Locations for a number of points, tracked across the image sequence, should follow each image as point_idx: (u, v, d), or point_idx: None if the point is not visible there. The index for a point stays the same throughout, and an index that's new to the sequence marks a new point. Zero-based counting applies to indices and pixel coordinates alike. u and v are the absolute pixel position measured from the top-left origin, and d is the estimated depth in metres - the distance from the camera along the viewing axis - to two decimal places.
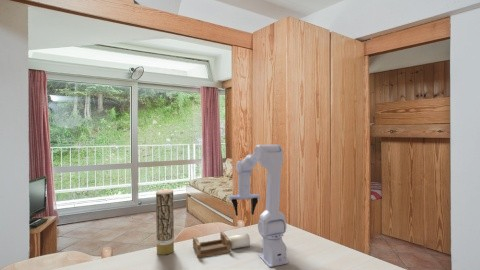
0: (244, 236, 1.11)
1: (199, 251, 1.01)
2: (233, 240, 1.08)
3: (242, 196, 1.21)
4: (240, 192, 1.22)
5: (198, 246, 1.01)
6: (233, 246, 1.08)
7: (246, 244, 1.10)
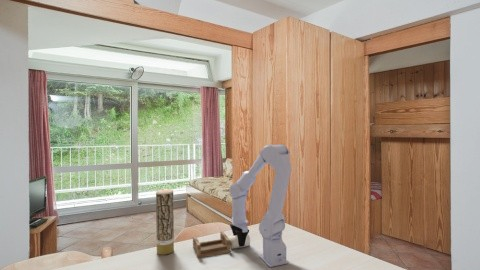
0: None
1: (199, 251, 1.01)
2: (233, 240, 1.08)
3: (232, 221, 1.11)
4: None
5: (198, 246, 1.01)
6: (233, 246, 1.08)
7: (246, 244, 1.10)
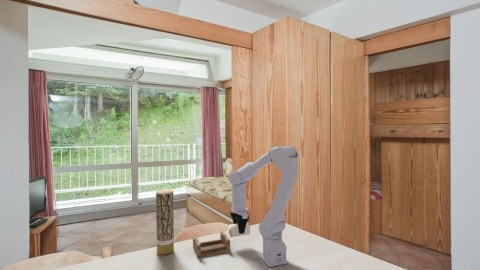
0: None
1: (199, 251, 1.01)
2: (233, 228, 1.08)
3: (232, 209, 1.11)
4: None
5: (198, 246, 1.01)
6: (233, 234, 1.08)
7: (246, 232, 1.10)
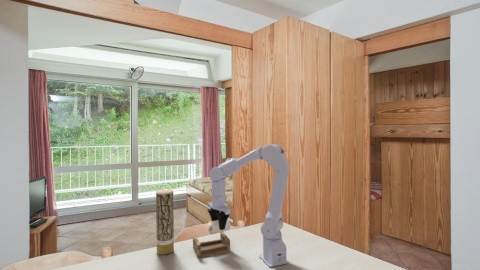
0: None
1: (199, 251, 1.01)
2: (214, 225, 1.06)
3: (211, 205, 1.09)
4: None
5: (198, 246, 1.01)
6: (214, 231, 1.05)
7: (226, 228, 1.09)
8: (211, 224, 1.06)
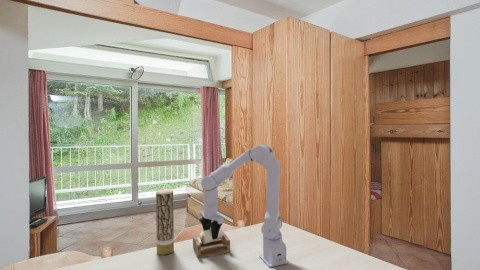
0: None
1: (199, 251, 1.01)
2: (207, 235, 1.05)
3: (203, 215, 1.08)
4: None
5: (198, 246, 1.01)
6: (207, 241, 1.04)
7: (219, 238, 1.08)
8: (203, 234, 1.05)
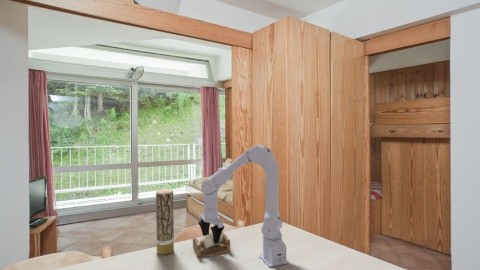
0: None
1: (199, 251, 1.01)
2: (207, 240, 1.05)
3: (203, 218, 1.08)
4: None
5: (198, 246, 1.01)
6: (207, 246, 1.04)
7: (219, 242, 1.08)
8: (204, 239, 1.05)
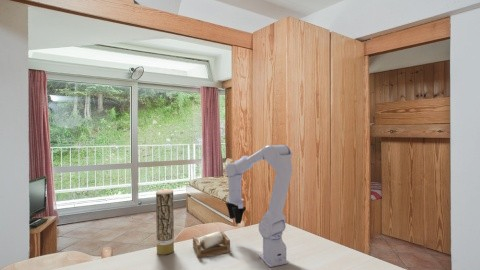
0: (217, 235, 1.08)
1: (199, 251, 1.01)
2: (207, 240, 1.05)
3: (228, 199, 1.15)
4: None
5: (198, 246, 1.01)
6: (207, 246, 1.04)
7: (219, 242, 1.08)
8: (204, 239, 1.05)
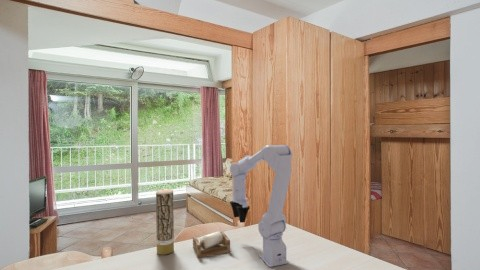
0: (217, 235, 1.08)
1: (199, 251, 1.01)
2: (207, 240, 1.05)
3: (232, 198, 1.17)
4: None
5: (198, 246, 1.01)
6: (207, 246, 1.04)
7: (219, 242, 1.08)
8: (204, 239, 1.05)
